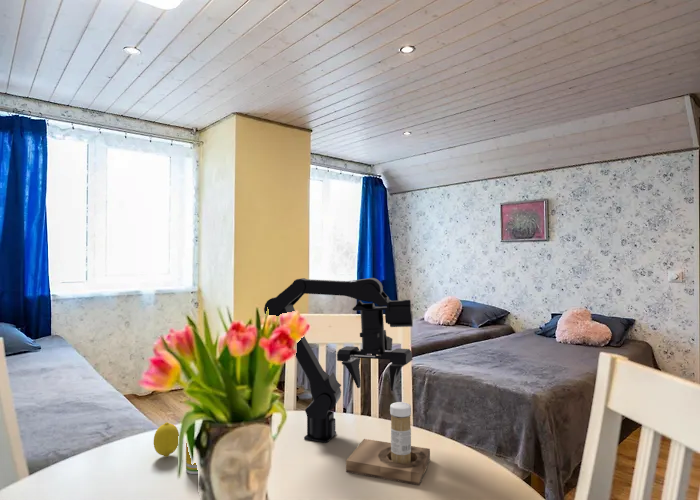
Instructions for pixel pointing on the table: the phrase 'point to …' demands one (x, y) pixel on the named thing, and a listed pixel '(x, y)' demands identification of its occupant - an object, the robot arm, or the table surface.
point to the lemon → (166, 439)
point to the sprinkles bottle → (400, 432)
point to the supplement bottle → (189, 467)
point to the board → (387, 462)
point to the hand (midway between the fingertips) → (375, 389)
